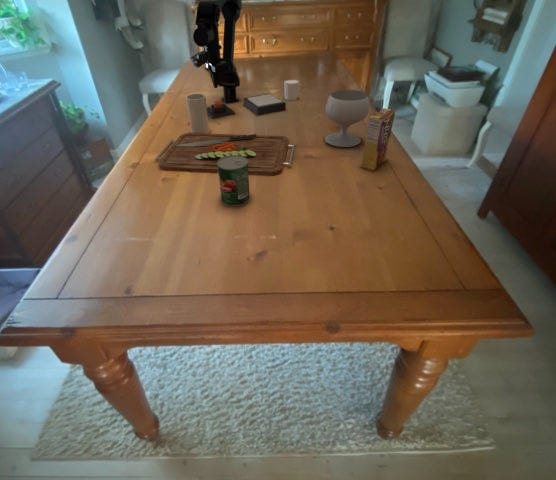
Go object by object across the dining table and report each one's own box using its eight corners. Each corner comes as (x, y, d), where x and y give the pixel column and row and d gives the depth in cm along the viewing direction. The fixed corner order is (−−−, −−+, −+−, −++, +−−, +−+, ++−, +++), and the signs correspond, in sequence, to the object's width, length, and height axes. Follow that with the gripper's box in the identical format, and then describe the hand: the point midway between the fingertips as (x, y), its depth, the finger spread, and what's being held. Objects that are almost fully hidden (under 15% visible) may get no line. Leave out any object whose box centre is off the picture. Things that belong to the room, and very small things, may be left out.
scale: (243, 105, 153) (243, 97, 151) (269, 100, 157) (269, 92, 154) (257, 115, 143) (257, 107, 140) (285, 110, 146) (285, 101, 144)
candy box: (372, 156, 112) (383, 107, 101) (385, 160, 109) (397, 110, 99) (359, 167, 107) (369, 116, 96) (372, 171, 105) (383, 119, 94)
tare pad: (203, 110, 150) (202, 103, 149) (224, 106, 153) (224, 100, 151) (212, 118, 142) (211, 112, 140) (235, 114, 145) (234, 108, 143)
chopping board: (148, 169, 111) (146, 160, 109) (176, 136, 130) (174, 127, 128) (288, 176, 104) (289, 166, 102) (296, 140, 123) (296, 131, 121)
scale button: (213, 106, 147) (212, 102, 146) (221, 104, 148) (220, 100, 147) (215, 108, 144) (215, 104, 143) (223, 107, 146) (223, 103, 144)
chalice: (336, 152, 115) (343, 104, 105) (315, 137, 124) (318, 92, 114) (371, 144, 119) (380, 97, 108) (347, 130, 128) (354, 86, 118)
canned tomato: (216, 204, 94) (211, 166, 87) (228, 189, 100) (224, 153, 92) (243, 208, 92) (240, 170, 84) (254, 194, 97) (252, 157, 90)
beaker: (189, 131, 133) (183, 95, 124) (206, 128, 135) (201, 92, 126) (194, 137, 128) (189, 100, 119) (212, 134, 130) (207, 97, 121)
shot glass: (297, 101, 154) (298, 83, 150) (282, 100, 156) (282, 83, 151) (299, 96, 159) (300, 79, 155) (284, 95, 161) (284, 79, 156)
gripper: (183, 41, 134) (189, 85, 144) (200, 48, 121) (205, 96, 131) (210, 38, 138) (214, 82, 148) (229, 44, 125) (232, 91, 135)
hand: (215, 87), depth 140 cm, fingers closed
